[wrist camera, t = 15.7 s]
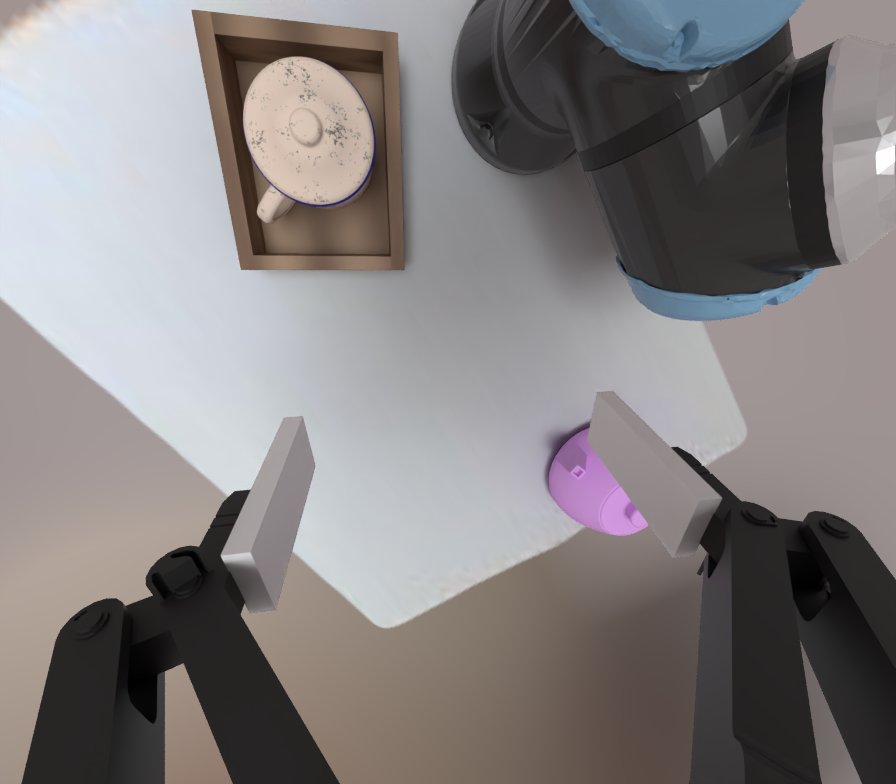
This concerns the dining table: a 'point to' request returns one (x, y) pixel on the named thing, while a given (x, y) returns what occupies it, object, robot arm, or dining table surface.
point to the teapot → (591, 490)
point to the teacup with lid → (308, 136)
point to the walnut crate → (303, 227)
